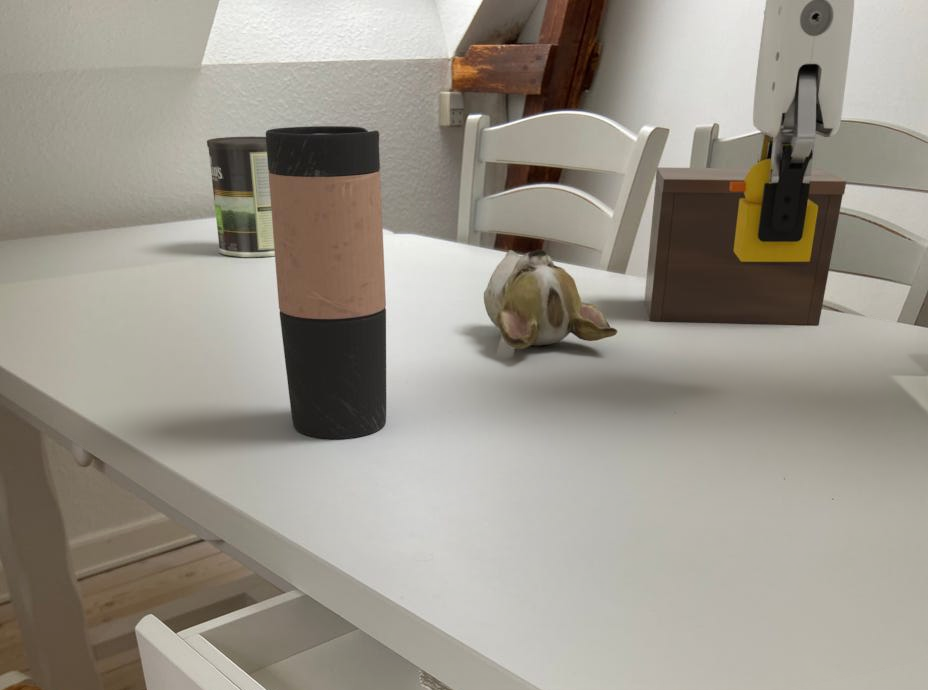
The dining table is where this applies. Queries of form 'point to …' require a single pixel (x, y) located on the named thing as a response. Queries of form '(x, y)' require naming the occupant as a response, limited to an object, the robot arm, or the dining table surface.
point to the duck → (749, 219)
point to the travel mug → (330, 276)
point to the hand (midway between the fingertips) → (773, 232)
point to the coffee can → (242, 196)
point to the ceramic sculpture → (539, 303)
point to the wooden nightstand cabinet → (730, 254)
